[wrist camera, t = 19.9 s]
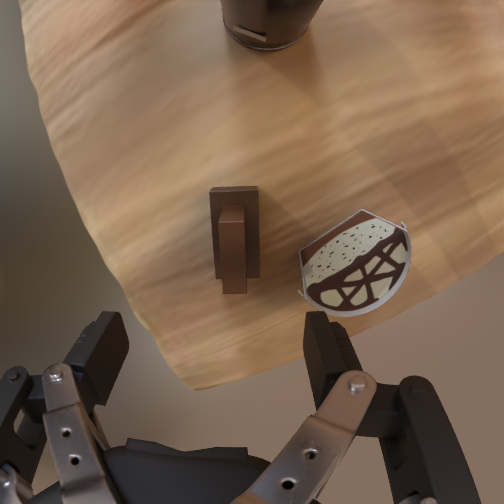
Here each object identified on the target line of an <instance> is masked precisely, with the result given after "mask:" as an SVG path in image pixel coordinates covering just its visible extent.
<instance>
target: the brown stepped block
mask: <svg viewBox="0 0 504 504" xmlns="http://www.w3.org/2000/svg"><path fill="white" fill-rule="evenodd" d="M209 193H210V209H211V223H212V237H213V250H214V262H215V274H216V279H222V282H223V294H246V293H247V278H260V259H259V207H258V187H257V186H238V187H214V188H212V189H211V191H210V192H209Z"/></svg>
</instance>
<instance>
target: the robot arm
mask: <svg viewBox="0 0 504 504" xmlns="http://www.w3.org/2000/svg"><path fill="white" fill-rule="evenodd" d="M220 1H221V6H222V11H223V20H224V24H225V27H226V29H227V31H228V33H229V34H230V35H231V36H232V37H233V38H234V39H235V40H236V41H237V42H239V43H240V44H242V45H244V46H246V47H249V48H252V49H255V50H261V51H275V50H280V49H284V48H287V47H289V46H291V45H293V44H294V43H296V42H297V41H298V40H299V39H300V38H301V37H302V36H303V35H304V33H305V32H306V30H307V27H308V25H309V23H310V22H311V20H312V18H313V17H314V15H315V13H316V12H317V10H318V8H319V7H320V5H321V3H322V2H323V0H220ZM128 350H129V340H128V336H127V333H126V330H125V327H124V323H123V320H122V317H121V314H120V313H119V312H109V311H103V312H102V313H101V314H100V316H99V317H98V319H97V320H96V322H95V321H93V322H92V323H91V324H89V325H88V326H87V327H85V329H84V330H83V332H82V333H81V335H80V337H79V338H78V339H77V341H76V343H75V344H74V345H73V347H72V348H71V350H70V352H69V353H68V355H67V356H66V358H65V359H64V361H63V363H56V364H53V365H51V366H49V367H48V368H47V369H46V370H45V371H44V373H43V375H33V376H30V375H29V374H28V372H27V370H26V369H25V368H24V367H22V366H15V367H12V368H10V369H9V370H7V371H6V372H5V374H4V375H3V377H2V378H1V380H0V504H321V503H319V502H318V501H317V498H318V497H319V495H320V494H321V492H322V491H323V489H324V488H325V486H326V485H327V483H328V482H329V480H330V479H331V477H332V475H333V474H334V472H335V470H336V469H337V467H338V466H339V463H340V462H341V461H342V459H343V457H344V455H345V454H346V452H347V450H348V448H349V447H350V445H351V443H352V442H353V440H354V438H355V436H366V437H378V438H379V442H380V446H381V450H382V454H383V457H384V462H385V466H386V470H387V474H388V479H389V483H390V487H391V492H392V496H393V501H394V504H481V501H480V498H479V495H478V492H477V489H476V486H475V483H474V480H473V477H472V475H471V472H470V469H469V467H468V464H467V461H466V459H465V457H464V454H463V452H462V449H461V447H460V444H459V442H458V439H457V437H456V435H455V432H454V430H453V428H452V425H451V423H450V421H449V419H448V416H447V414H446V412H445V410H444V408H443V406H442V404H441V401H440V400H439V397H438V395H437V393H436V391H435V389H434V387H433V385H432V384H431V383H430V382H429V381H428V380H427V379H425V378H423V377H420V376H409V377H406V378H404V379H403V380H402V381H401V382H400V384H399V385H387V384H380V383H377V382H376V381H375V379H374V378H373V377H372V376H371V375H370V374H368V373H366V372H364V371H363V369H362V367H361V365H360V362H359V360H358V358H357V355H356V353H355V350H354V348H353V346H352V343H351V341H350V339H349V336H348V334H347V332H346V330H345V328H344V327H342V326H341V325H340V324H339V323H338V322H329V320H328V317H327V315H326V312H325V311H312V312H307V313H306V319H305V329H304V338H303V351H304V357H305V361H306V366H307V369H308V374H309V378H310V383H311V388H312V392H313V397H314V402H315V406H316V411H317V412H316V413H315V414H314V415H310V416H308V417H307V419H306V420H305V421H304V422H303V424H302V425H301V427H300V428H299V429H298V431H297V432H296V433H295V434H294V436H293V437H292V438H291V439H290V441H289V442H288V443H287V445H286V446H285V447H284V448H283V449H282V451H281V452H280V453H279V454H278V456H277V457H276V458H275V459H274V460H273V462H272V463H271V462H269V461H266V460H264V459H262V458H258V457H255V456H251V455H248V450H247V447H213V448H208V449H201V450H195V451H186V452H184V451H179V450H176V449H173V448H170V447H167V446H164V445H162V444H159V443H156V442H150V441H144V440H137V439H132V438H128V439H127V442H126V446H118V447H114V448H110V446H109V444H108V442H107V439H106V437H105V435H104V432H103V430H102V428H101V425H100V423H99V420H98V418H97V415H96V413H95V411H94V409H93V408H94V406H95V404H98V405H104V406H105V405H106V403H107V400H108V398H109V395H110V393H111V390H112V388H113V386H114V383H115V381H116V379H117V376H118V374H119V372H120V369H121V367H122V365H123V363H124V360H125V358H126V355H127V353H128ZM20 409H21V410H22V411H23V413H24V414H25V416H24V418H23V420H22V422H21V424H20V426H19V428H18V431H17V433H15V431H14V427H13V426H14V421H15V419H16V417H17V415H18V413H19V411H20ZM47 439H48V444H49V448H50V451H51V455H52V458H53V462H54V465H55V468H56V472H57V476H58V478H59V481H58V482H56V483H55V484H53V485H51V486H50V487H48V488H47V489H45V490H43V491H42V492H40V493H38V494H37V495H35V496H34V495H33V489H32V486H31V485H32V482H33V478H34V475H35V472H36V469H37V466H38V463H39V460H40V457H41V455H42V452H43V449H44V447H45V444H46V441H47Z"/></svg>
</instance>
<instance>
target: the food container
mask: <svg viewBox="0 0 504 504" xmlns="http://www.w3.org/2000/svg"><path fill="white" fill-rule="evenodd" d="M401 224H402V227H403V228H402V227H400V226H398V225H396V224H394V223H392V222H390V221H388V220H385V219H383V218H381V217H379V216H377V215H375V214H373V213H371V212H368V211H366V210H364V209H361V210H359V211H358V212H356V213H355V214H353V215H352V216H350V217H349V218H347V219H346V220H344V221H343V222H341V223H340V224H338V225H337V226H335V227H334V228H332V229H331V230H329V231H328V232H326V233H325V234H323V235H322V236H320V237H318V238H317V239H315V240H314V241H312V242H311V243H309V244H308V245H306V246H305V247H303V248H302V249H300V250H299V251H298V254H299V261H300V268H301V274H302V281H303V288H304V295H303V294H302V293H301V291H300V290H298V292H299V293H300V294H301V296H302V297H303V298H304V299H305V300H306V301H307V302H308V303H309V304H310V305H311V306H313V307H314V308H316V309H318V310H319V311H325V312H326V314H329V315H332V316H337V317H353V316H359V315H362V314H366V313H368V312H371V311H373V310H375V309H376V308H378V307H380V306H381V305H383V304H384V303H385V302H387V301H388V300H389V299H390V298H391V297H392V296H393V295H394V294H395V293H396V292H397V290H398V289H399V288H400V286H401V285H402V283H403V281H404V280H405V277H406V275H407V273H408V270H409V266H410V262H411V241H410V237H409V233H408V230H407V227H406V226H405V225H404V223H403V222H401Z"/></svg>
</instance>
